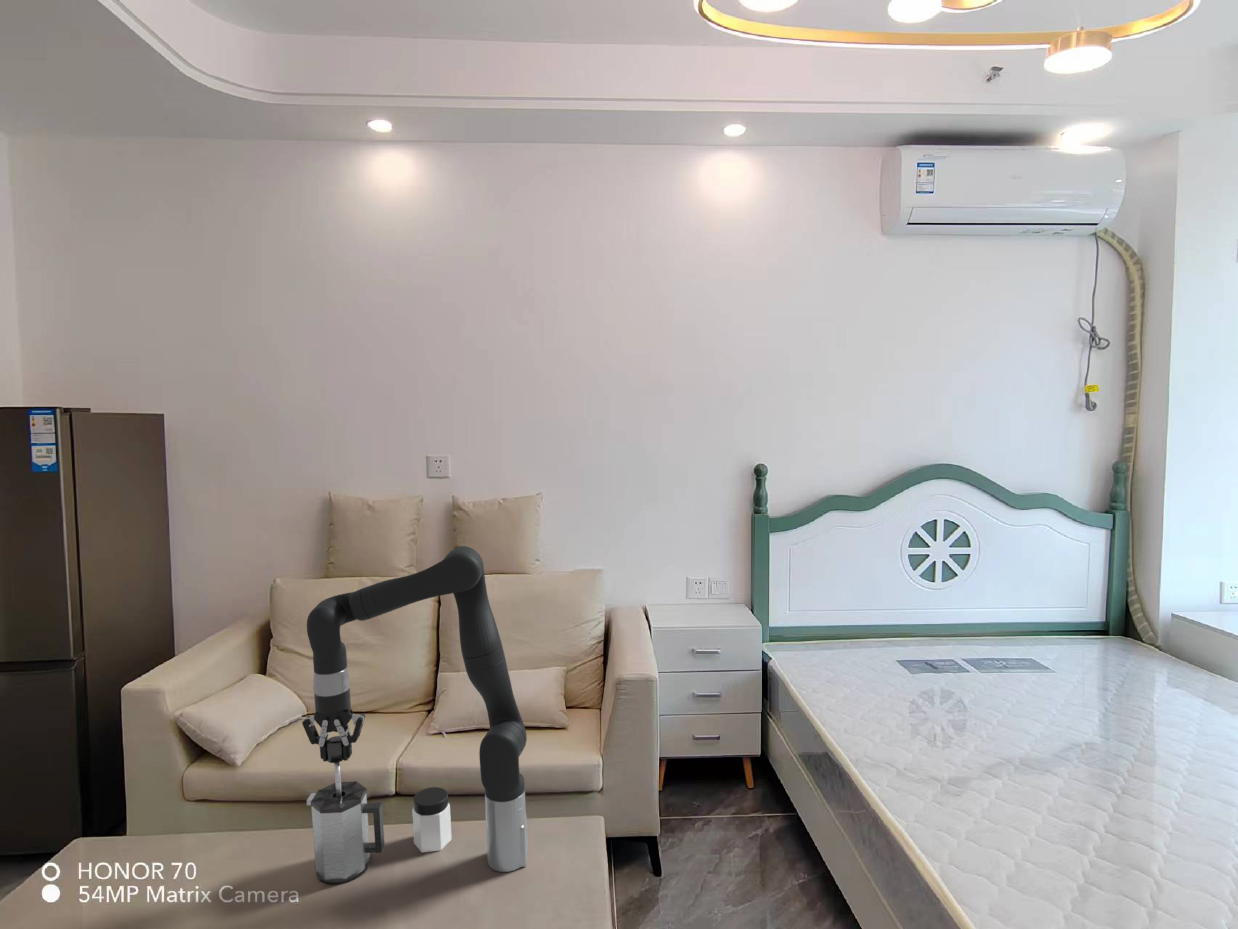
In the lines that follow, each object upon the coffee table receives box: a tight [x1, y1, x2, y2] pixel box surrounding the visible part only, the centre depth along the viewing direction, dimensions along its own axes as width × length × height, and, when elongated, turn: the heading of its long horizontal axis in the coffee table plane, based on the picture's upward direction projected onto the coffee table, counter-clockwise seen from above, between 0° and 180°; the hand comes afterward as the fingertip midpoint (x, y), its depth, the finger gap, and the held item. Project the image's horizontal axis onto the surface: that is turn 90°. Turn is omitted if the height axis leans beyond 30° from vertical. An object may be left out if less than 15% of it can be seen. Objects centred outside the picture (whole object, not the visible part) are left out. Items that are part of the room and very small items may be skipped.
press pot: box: [306, 780, 385, 886], centre depth 170 cm, size 16×12×18 cm
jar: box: [411, 786, 452, 853], centre depth 179 cm, size 9×8×12 cm
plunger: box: [326, 735, 344, 798], centre depth 168 cm, size 4×4×20 cm
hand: (336, 759), depth 167 cm, fingers closed on plunger, 4 cm apart
